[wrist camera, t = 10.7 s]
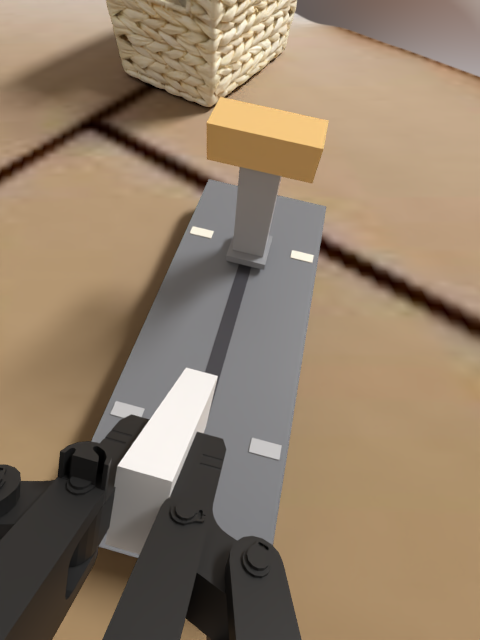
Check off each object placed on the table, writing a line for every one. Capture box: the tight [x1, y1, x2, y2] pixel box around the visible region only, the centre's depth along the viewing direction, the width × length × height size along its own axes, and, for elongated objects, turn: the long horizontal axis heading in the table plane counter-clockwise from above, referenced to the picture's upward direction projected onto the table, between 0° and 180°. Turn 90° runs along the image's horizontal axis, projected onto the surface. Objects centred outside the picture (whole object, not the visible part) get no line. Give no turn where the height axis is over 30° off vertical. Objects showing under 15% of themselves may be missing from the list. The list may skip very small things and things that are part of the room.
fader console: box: [91, 179, 326, 558], centre depth 24 cm, size 28×11×3 cm, turn 166°
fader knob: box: [207, 97, 329, 270], centre depth 21 cm, size 3×6×10 cm, turn 76°
